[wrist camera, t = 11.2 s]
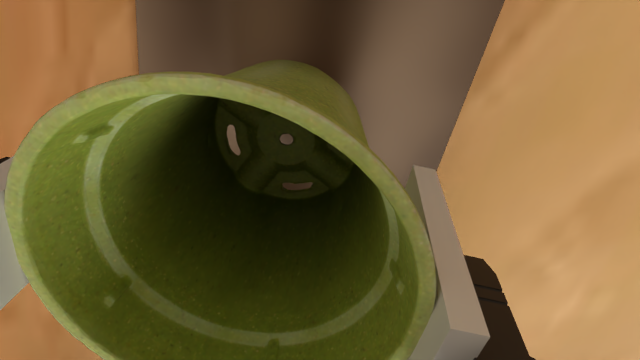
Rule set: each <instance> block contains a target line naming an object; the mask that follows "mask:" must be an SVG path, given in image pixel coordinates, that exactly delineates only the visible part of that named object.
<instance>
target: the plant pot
mask: <svg viewBox="0 0 640 360" xmlns="http://www.w3.org/2000/svg"><path fill="white" fill-rule="evenodd" d="M229 125H233V126H234V127H235V133H236V141H237V144H238V147H239V149H240V155H236V154H235V153H234V152H233V151H232V150H231V148H230V146H229V142H228V138H227V127H228V126H229ZM282 134H290V135H291V136H292V137H293V142H292V143H291V144H289V145H286V144H283V143H281V141H280V137H281V135H282ZM309 182H312V183H313V184H312V185H311V187H310V188H307V189H301V190H287V189H286V188H284V187H283V185H282V184H283V183H294V184H301V183H303V184H304V183H309ZM4 209H5V214H6V218H7V222H8V226H9V229H10V233H11V236H12V240H13V244H14V248H15V252H16V256H17V259H18V263H19V265H20V266H21V269H22V271H23V272H24V274H25V275H26V277H27V279H28V281H29V282H30V284H31V286H32V288H33V290H34V291H35V292H36V294H37V295H38V297H39V298H40V299H41V301H42V302H43V304H44V305H45V307H46V308H47V309H48V310H49V311H50V313H51V314H52V315H53V316H54V318H55V319H56V320H57V321H58V322H59V323H60V324H61V325H62V326H63V327H64V328H65V329H66V330H67V331H68V332H70V333H71V335H72V336H74V337H75V338H76V339H77V340H79V341H81V342H82V343H83V344H84V345H85V346H86V347H87V348H89V349H90V350H92V351H93V352H95V353H96V354H98V355H99V356H100V357H101V358H102V359H104V360H407V359H408V358H409V357H410V356H411V354H412V353H413V351H414V349H415V347H416V345H417V343H418V341H419V339H420V337H421V336H422V334H423V332H424V329H425V328H426V326H427V324H428V321H429V319H430V316H431V314H432V312H433V309H434V304H435V297H436V271H435V262H434V256H433V251H432V248H431V244H430V241H429V238H428V235H427V232H426V229H425V226H424V224H423V222H422V220H421V218H420V215H419V213H418V211H417V209H416V207H415V205H414V203H413V202H412V200H411V198H410V197H409V195H408V193H407V191H406V190H405V189H404V187H403V186H402V185H401V183H400V182H399V180H398V179H397V178H396V176H395V175H394V174H393V172H392V171H391V170H390V169H389V168H388V167H387V166H386V164H385V163H384V162H383V161H382V160H381V159H380V158H379V157H378V156H377V155H376V154H375V153H374V152H373V151H372V150H371V149H370V148H369V145H368V142H367V139H366V136H365V132H364V129H363V126H362V123H361V119H360V116H359V114H358V111H357V108H356V106H355V104H354V102H353V100H352V99H351V97H350V96H349V94H348V93H347V92H346V91H345V90H344V89H343V88H342V87H341V86H340V85H339V84H338V83H337V82H336V81H335V80H333V79H332V78H331V77H330V76H328V75H327V74H325V73H324V72H322V71H321V70H319V69H318V68H316V67H313V66H311V65H308V64H305V63H302V62H297V61H291V60H271V61H266V62H262V63H258V64H255V65H253V66H250V67H246V68H244V69H241V70H239V71H236V72H233V73H231V74H228V75H225V76H222V75H216V74H211V73H199V72H156V73H145V74H139V75H133V76H128V77H124V78H120V79H116V80H112V81H109V82H105V83H102V84H99V85H97V86H94V87H91V88H89V89H86V90H84V91H82V92H79V93H77V94H75V95H73V96H71V97H70V98H68V99H66V100H65V101H63V102H61V103H60V104H58V105H57V106H55V107H53V108H52V109H51V110H50V111H48V112H47V113H46V114H45V115H43V116H42V117H41V118H40V119H39V120H38V121H37V122H36V123H35V124H34V126H33V127H32V129H31V130H30V132H29V133H28V134H27V136H26V137H25V138H24V140H23V141H22V142H21V144H20V146H19V148H18V150H17V152H16V153H15V155H14V157H13V159H12V162H11V165H10V168H9V171H8V175H7V182H6V187H5V198H4Z"/></svg>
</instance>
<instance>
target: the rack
mask: <svg viewBox="0 0 640 360" xmlns="http://www.w3.org/2000/svg"><path fill="white" fill-rule="evenodd" d="M135 1H136V21H137V42H138V62H139V74H145V73H156V72H199V73H211V74H216V75H222V76H225V75H228V74H231V73H233V72H236V71H239V70H241V69H244V68H246V67H250V66H253V65H255V64H258V63H262V62H266V61H271V60H291V61H297V62H302V63H305V64H308V65H311V66H313V67H316V68H318V69H319V70H321V71H322V72H324V73H325V74H327V75H328V76H330V77H331V78H332V79H333V80H335V81H336V82H337V83H338V84H339V85H340V86H341V87H342V88H343V89H344V90H345V91H346V92H347V93H348V94H349V96H350V97H351V99H352V100H353V102H354V104H355V106H356V108H357V111H358V114H359V116H360V119H361V123H362V126H363V129H364V132H365V136H366V139H367V142H368V145H369V148H370V149H371V150H372V151H373V152H374V153H375V154H376V155H377V156H378V157H379V158H380V159H381V160H382V161H383V162H384V163H385V164H386V166H387V167H388V168H389V169H390V170H391V171H392V172H393V174H394V175H395V176H396V178H397V179H398V180H399V182H400V183H401V185H402V186H403V187H404V189H405V186H406V184H407V181H408V178H409V175H410V172H411V170H412V167H413V165H416V166H421V167H426V168H430V169H435V170H436V171H437V168H438V166H439V163H440V161H441V158H442V156H443V153H444V151H445V148H446V146H447V143H448V141H449V138H450V136H451V133H452V131H453V128H454V126H455V123H456V121H457V118H458V116H459V113H460V111H461V108H462V106H463V103H464V101H465V98H466V96H467V93H468V91H469V88H470V86H471V83H472V81H473V78H474V76H475V73H476V71H477V68H478V66H479V63H480V61H481V58H482V56H483V53H484V51H485V48H486V46H487V43H488V41H489V38H490V36H491V33H492V31H493V28H494V26H495V23H496V21H497V18H498V16H499V13H500V11H501V8H502V6H503V3H504V1H505V0H135ZM227 138H228V142H229V146H230V148H231V150H232V151H233V152H234V153H235V154H236V155H240V149H239V147H238V144H237V141H236V133H235V127H234V126H233V125H229V126H228V127H227ZM280 141H281V143H283V144H286V145H289V144H291V143H292V142H293V137H292V136H291V135H290V134H282V135H281V137H280ZM312 184H313V183H312V182H309V183H304V184H303V183H301V184H294V183H283V184H282V185H283V187H284V188H286V189H287V190H301V189H307V188H310V187H311V185H312Z"/></svg>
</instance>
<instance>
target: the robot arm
mask: <svg viewBox="0 0 640 360" xmlns="http://www.w3.org/2000/svg"><path fill="white" fill-rule="evenodd" d="M13 157H14V156H13ZM13 157H11V158H10V157H5V158H2V159H0V310H1V309H2V308H3V307H4V306H5V305H6V304H7V303H8V302H9V301H10V300H11V299H12V298H13V297H14V296H16V295H17V294H18V293H19V292H20V291H21V290H22V289H23V288H24V287H25V286H26V285H27V284H28V283H29V281H28V279H27V277H26V275H25V274H24V272H23V271H22V269H21V266H20V265H19V263H18V259H17V256H16V252H15V248H14V244H13V240H12V236H11V233H10V229H9V226H8V222H7V218H6V214H5V209H4V198H5V187H6V182H7V175H8V171H9V168H10V165H11V162H12V159H13ZM405 190H406V191H407V193H408V195H409V197H410V198H411V200H412V202H413V203H414V205H415V207H416V209H417V211H418V213H419V215H420V218H421V220H422V222H423V224H424V226H425V229H426V232H427V235H428V238H429V241H430V244H431V248H432V251H433V256H434V262H435V271H436V297H435V304H434V309H433V312H432V314H431V316H430V319H429V321H428V324H427V326H426V328H425V329H424V332H423V334H422V336H421V337H420V339H419V341H418V343H417V345H416V347H415V349H414V351H413V353H412V354H411V356H410V357H409V358H408V359H407V360H535V359H534V358H532V357H530V356H529V354H528V351H527V349H526V347H525V344H524V342H523V339H522V337H521V334H520V332H519V329H518V327H517V325H516V322H515V320H514V317H513V315H512V312H511V310H510V307H509V306H507V300H506V298H505V295H504V293H502V288H501V285H500V283H499V281H498V278H497V276H496V274H495V273H494V271H493V270H492V269H491V268H490V267H489V266H488V264H487V263H486V262H485V261H484V260H483V259H480V258H475V257H471V256H466V255H463V252H462V249H461V246H460V243H459V240H458V237H457V234H456V231H455V228H454V225H453V221H452V218H451V215H450V212H449V209H448V206H447V203H446V200H445V197H444V194H443V191H442V188H441V185H440V182H439V179H438V176H437V173H436V170H435V169H430V168H426V167H421V166H416V165H413V167H412V170H411V172H410V175H409V178H408V181H407V184H406V186H405Z"/></svg>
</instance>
